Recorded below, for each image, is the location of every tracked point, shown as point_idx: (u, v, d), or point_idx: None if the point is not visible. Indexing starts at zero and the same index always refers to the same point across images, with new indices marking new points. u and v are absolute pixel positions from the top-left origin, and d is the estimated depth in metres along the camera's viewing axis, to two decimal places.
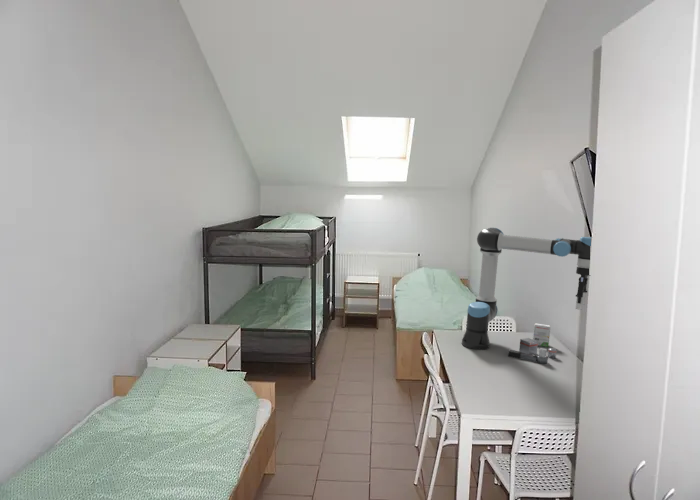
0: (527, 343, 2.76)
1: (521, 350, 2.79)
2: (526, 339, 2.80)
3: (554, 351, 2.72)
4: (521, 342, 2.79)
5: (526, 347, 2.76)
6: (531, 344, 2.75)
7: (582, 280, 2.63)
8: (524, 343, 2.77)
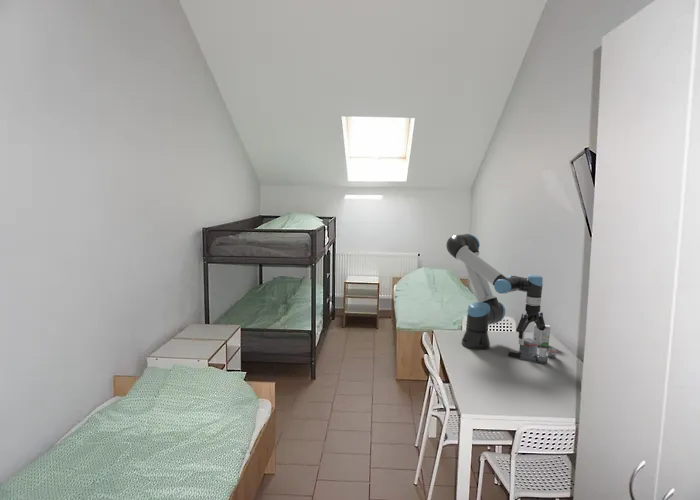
0: (527, 343, 2.76)
1: (521, 350, 2.79)
2: (526, 339, 2.80)
3: (554, 351, 2.72)
4: None
5: (526, 347, 2.76)
6: (531, 344, 2.75)
7: (524, 317, 2.73)
8: (524, 343, 2.77)
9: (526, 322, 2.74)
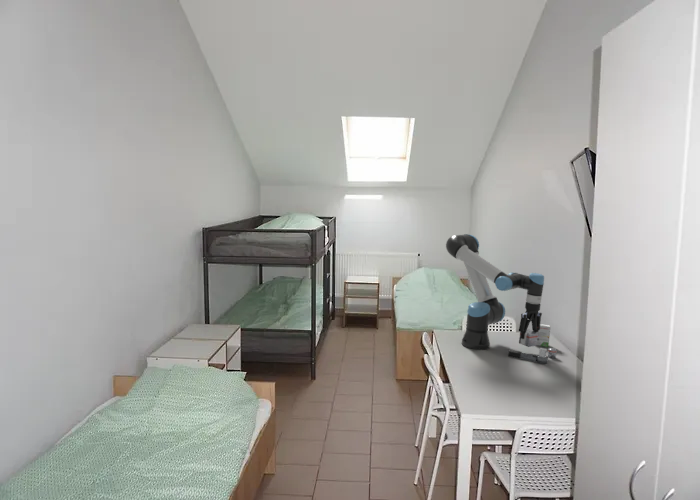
0: (527, 335, 2.75)
1: None
2: (526, 331, 2.80)
3: (554, 351, 2.72)
4: None
5: (526, 338, 2.76)
6: (531, 336, 2.75)
7: (523, 317, 2.73)
8: None
9: (527, 321, 2.75)
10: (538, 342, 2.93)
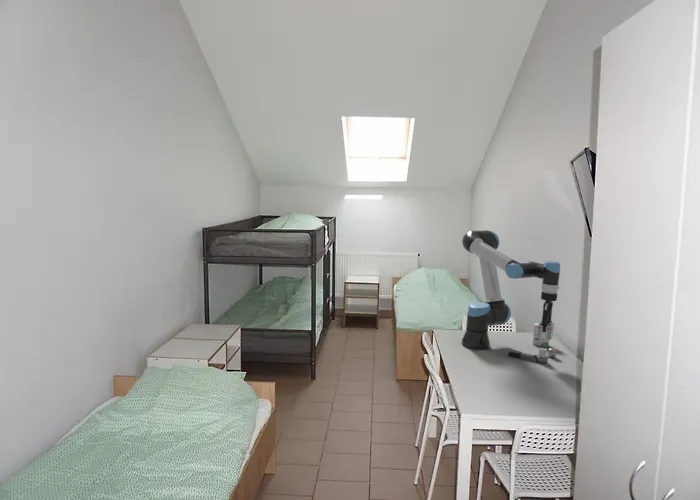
0: (548, 327, 2.59)
1: (540, 335, 2.62)
2: None
3: (554, 351, 2.72)
4: (540, 327, 2.61)
5: (547, 331, 2.60)
6: (552, 327, 2.60)
7: (546, 309, 2.56)
8: None
9: None
10: (538, 342, 2.93)
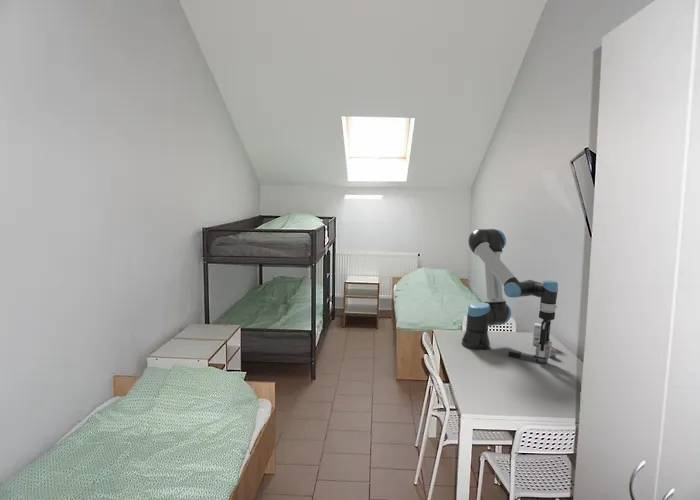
0: (546, 346, 2.61)
1: (538, 354, 2.63)
2: None
3: (554, 351, 2.72)
4: (538, 345, 2.62)
5: (545, 350, 2.61)
6: (550, 346, 2.61)
7: (544, 328, 2.57)
8: None
9: None
10: None
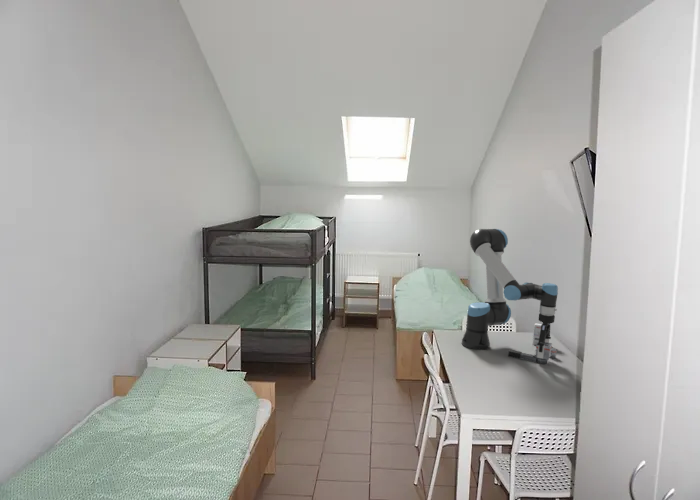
0: (546, 347, 2.61)
1: None
2: None
3: (554, 351, 2.72)
4: None
5: (545, 351, 2.61)
6: (550, 347, 2.61)
7: (544, 329, 2.57)
8: None
9: None
10: None
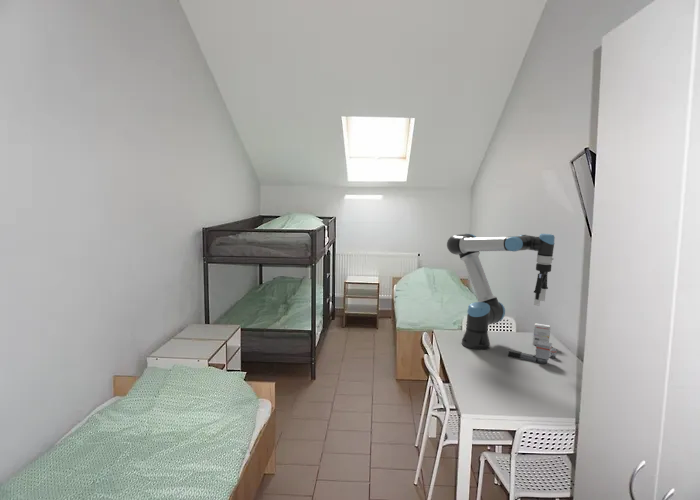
0: (546, 347, 2.61)
1: (538, 355, 2.63)
2: (541, 343, 2.65)
3: (554, 351, 2.72)
4: (538, 347, 2.63)
5: (545, 351, 2.61)
6: (550, 347, 2.61)
7: (540, 277, 2.65)
8: (542, 348, 2.62)
9: None
10: None
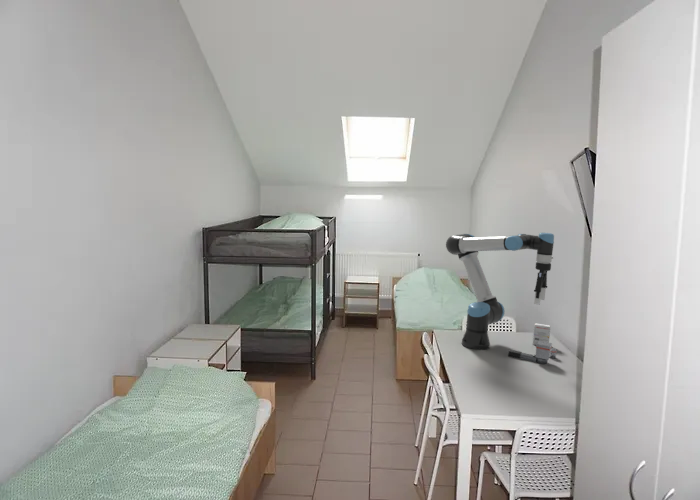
0: (546, 347, 2.61)
1: (538, 355, 2.63)
2: (541, 343, 2.65)
3: (554, 351, 2.72)
4: (538, 347, 2.63)
5: (545, 351, 2.61)
6: (550, 347, 2.61)
7: (540, 276, 2.66)
8: (542, 348, 2.62)
9: None
10: None
